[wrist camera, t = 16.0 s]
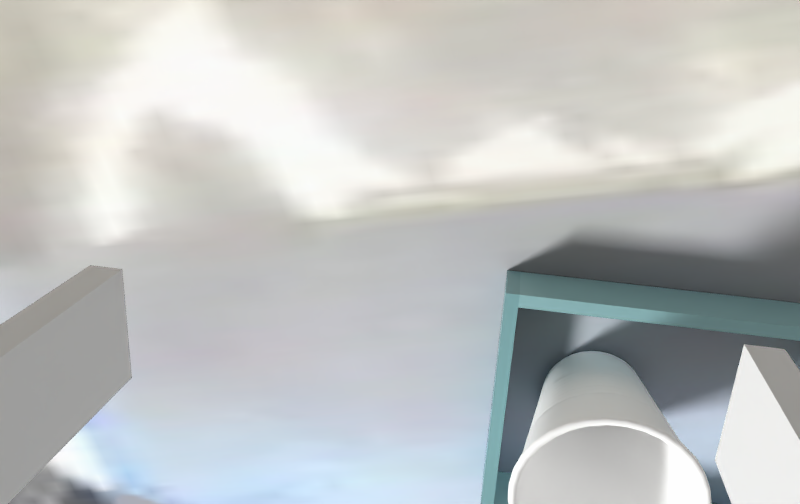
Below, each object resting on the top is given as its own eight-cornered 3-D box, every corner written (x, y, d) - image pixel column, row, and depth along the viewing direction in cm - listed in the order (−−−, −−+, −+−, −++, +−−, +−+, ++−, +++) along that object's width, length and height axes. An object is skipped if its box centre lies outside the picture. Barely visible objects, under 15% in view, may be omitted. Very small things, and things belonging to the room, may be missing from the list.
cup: (674, 318, 44) (716, 419, 34) (671, 457, 48) (708, 587, 38) (509, 321, 46) (502, 418, 36) (516, 455, 50) (512, 577, 40)
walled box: (507, 270, 45) (505, 293, 42) (847, 308, 43) (873, 335, 39) (482, 478, 51) (479, 513, 48) (782, 523, 48) (800, 563, 45)
